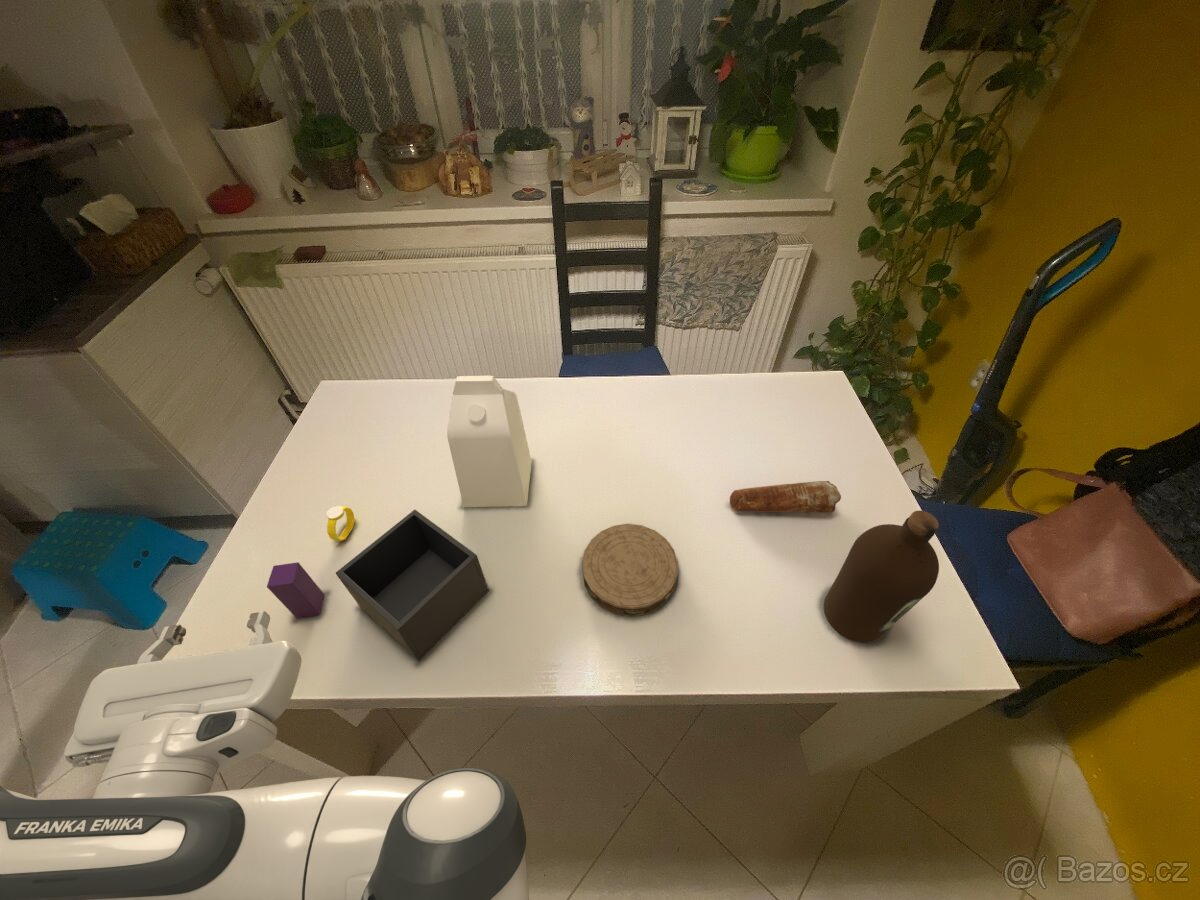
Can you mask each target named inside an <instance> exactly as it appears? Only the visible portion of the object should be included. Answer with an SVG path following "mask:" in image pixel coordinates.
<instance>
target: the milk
mask: <svg viewBox="0 0 1200 900" xmlns="http://www.w3.org/2000/svg"><path fill="white" fill-rule="evenodd" d="M521 412H522V411H521V409H520V403H519V399H518V395H517V394H516V392H514V391H511V390H508V389H504V388H503V387H502V385H501V384H500V383H499V381H498V380H497V379H496V377H495V376H494V375H457V376H456V379H455V382H454V386H453V391H452V395H451V402H450V407H449V415H448V420H447V421H448V422H447V430H446V438H447V442H448V446H449V451H450V454H451V459H452V463H453V467H454V472H455V476H456V481H457V485H458V489H459V493H460V497H461V502H462V504H463V505H462V507H463V508H489V507H491V508H493V507H497V508H498V507H527V506H528V500H529V491H530V481H531V473H532V462H533V461H532V456H531V451H530V448H529V443H528V439H527V434H526V430H525V425H524V421H523V417H522V413H521Z"/></svg>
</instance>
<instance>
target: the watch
mask: <svg viewBox="0 0 1200 900" xmlns="http://www.w3.org/2000/svg"><path fill="white" fill-rule="evenodd" d="M325 514H326V517H327V519H328V520H327V524H326V531H327V535H328V537H329V539H330V540H332V541H334V542H335V541H338V542H343V541H345V540H347V539H348V536H349V535H350V533H351V532H352V530H353V529H354V526H355V514H354V511H353V510H352V508H350V507H349V506H341V505H339V506H338V505H336V506H333V507H331V508H329V509H328V510H327V511H326V513H325ZM344 515H345V518H346V522H345V527H344V529H343V530H342V532H341V533H340V535H339V536H338V534H337V532H336V531H337V530H336V529H337V528H336V524H337V521H338V520H340V519H341V518H343V516H344Z"/></svg>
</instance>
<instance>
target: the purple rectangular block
mask: <svg viewBox="0 0 1200 900" xmlns="http://www.w3.org/2000/svg"><path fill="white" fill-rule="evenodd" d="M266 588H267V589H268V590H269V591H270V592H271V594H273V595H274V597H276V598H277V599H278V600H279V601H280V603H281V604H282V605H283V606H284V607H285V608H286V609H287V610H288V612H290V613H291V614H292V615H293V616H294V617H295V618H296V619H301V618H309V617H314V616H320V615H321V612H322V609H323V603H324V600H325V593H324V592H323V591H322V589H321V588H320V587H319V586H318V585H317V583H316V582H315V581H314V580H313V578H312V577H311V576H310V574H308V572H307V571H306V570H305V569H304V567H303V566H302V565H301V564H300V563H299V561H298V562H297V561H296V562H290V563H284V564H277V565H276V564H275V565H273V566H272V569H271V573H270V575H269V578H268V581H267V584H266Z"/></svg>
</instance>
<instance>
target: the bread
mask: <svg viewBox="0 0 1200 900" xmlns="http://www.w3.org/2000/svg"><path fill="white" fill-rule="evenodd" d="M841 499H842V495H841V493H840V491H839V490H838V488H837V486H836V485H835V484H834V483H831V482H830V481H829V480H817V481H805V482H797V483H784V484H773V485H766V486H765V485H764V486H755V487H747V488H740V489H734V490H733V491H732V493H731V494H730V495H729V504H730V507H731V508H732V509H733V510H734V511H736V512H759V513H763V512H764V513H817V514H825V513H826V514H830V513H831V514H832V513H834V512H835V510H836V505H837V504H838V503H839V502H840V501H841Z"/></svg>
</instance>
